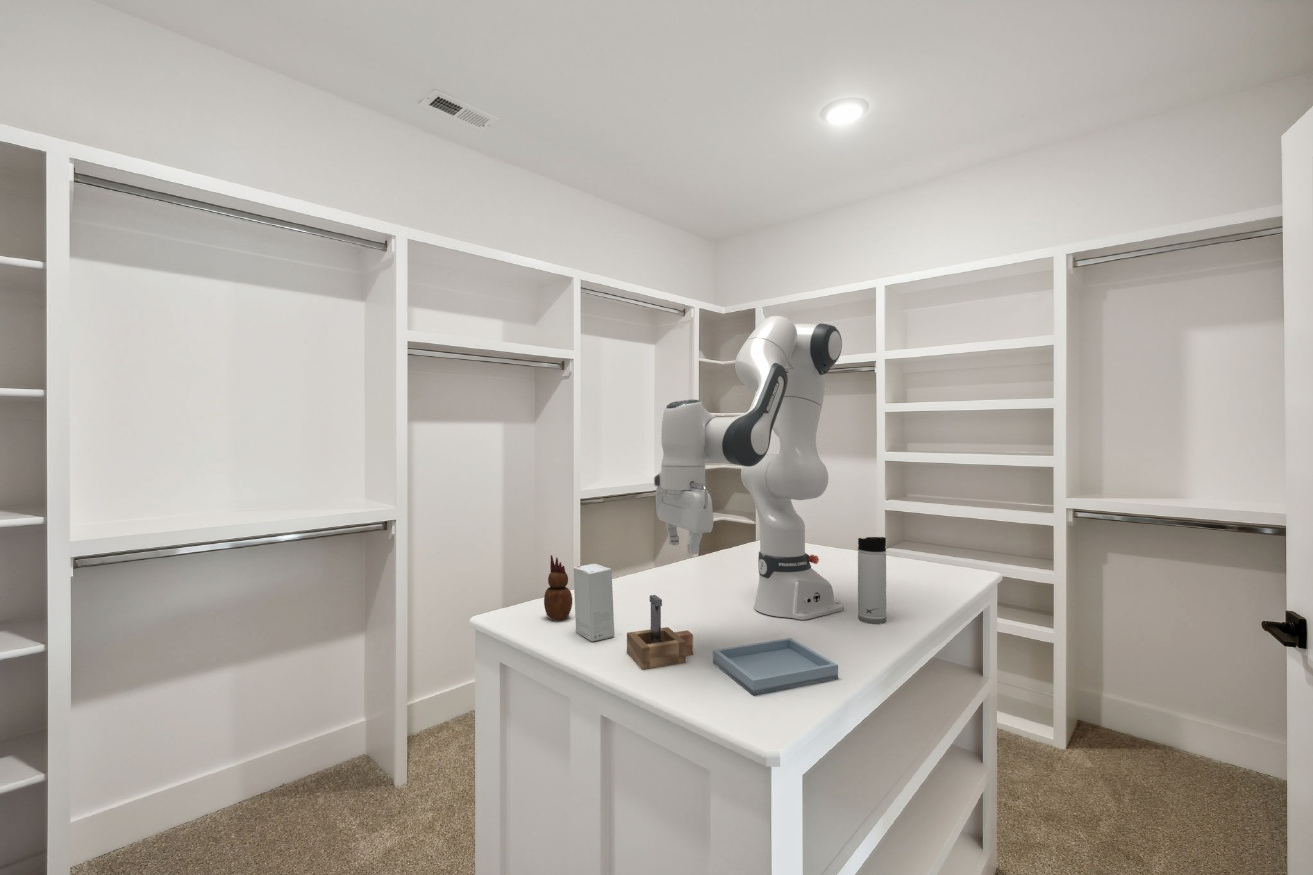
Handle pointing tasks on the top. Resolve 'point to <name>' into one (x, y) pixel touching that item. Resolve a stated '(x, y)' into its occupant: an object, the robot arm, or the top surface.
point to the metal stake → (655, 619)
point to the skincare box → (594, 602)
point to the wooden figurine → (557, 593)
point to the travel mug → (872, 579)
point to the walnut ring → (659, 648)
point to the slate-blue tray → (774, 665)
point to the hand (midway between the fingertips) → (683, 548)
